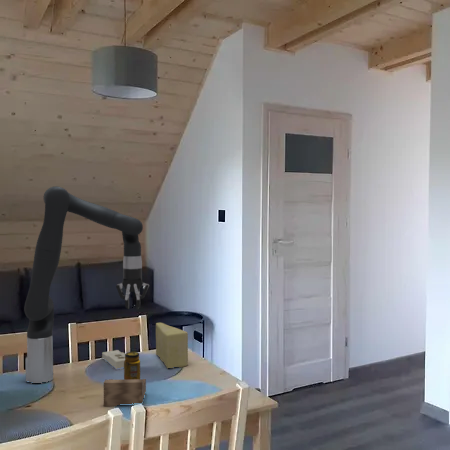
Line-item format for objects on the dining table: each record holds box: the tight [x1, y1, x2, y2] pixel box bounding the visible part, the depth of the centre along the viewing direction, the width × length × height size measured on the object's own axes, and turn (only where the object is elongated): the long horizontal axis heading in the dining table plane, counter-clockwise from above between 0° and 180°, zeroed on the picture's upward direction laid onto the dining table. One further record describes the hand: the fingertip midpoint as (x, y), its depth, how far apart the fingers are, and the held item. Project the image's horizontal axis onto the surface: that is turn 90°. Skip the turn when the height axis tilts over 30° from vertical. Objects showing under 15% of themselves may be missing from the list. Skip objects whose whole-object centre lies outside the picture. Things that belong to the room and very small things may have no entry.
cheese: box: [155, 322, 189, 369], centre depth 221 cm, size 22×10×15 cm, turn 30°
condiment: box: [123, 351, 141, 380], centre depth 191 cm, size 7×8×12 cm
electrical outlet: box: [101, 349, 126, 369], centre depth 219 cm, size 7×4×18 cm
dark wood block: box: [103, 378, 147, 407], centre depth 178 cm, size 13×10×8 cm
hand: (132, 308), depth 209 cm, fingers open, 3 cm apart
